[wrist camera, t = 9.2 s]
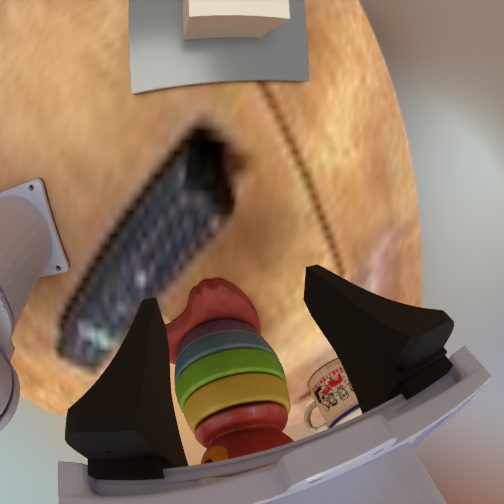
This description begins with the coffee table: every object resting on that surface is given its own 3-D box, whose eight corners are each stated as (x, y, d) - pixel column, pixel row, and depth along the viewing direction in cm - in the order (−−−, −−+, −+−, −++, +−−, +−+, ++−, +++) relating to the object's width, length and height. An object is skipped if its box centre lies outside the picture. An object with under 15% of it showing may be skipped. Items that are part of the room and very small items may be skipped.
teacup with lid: (346, 346, 36) (389, 409, 26) (364, 364, 41) (400, 416, 31) (279, 393, 37) (309, 459, 28) (306, 404, 42) (334, 458, 32)
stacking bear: (210, 268, 23) (284, 485, 9) (282, 316, 29) (365, 467, 14) (141, 341, 25) (158, 519, 10) (215, 373, 31) (258, 513, 16)
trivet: (134, 94, 15) (131, 93, 14) (133, -41, 9) (132, -48, 8) (302, 81, 18) (309, 81, 17) (292, -42, 11) (298, -48, 10)
